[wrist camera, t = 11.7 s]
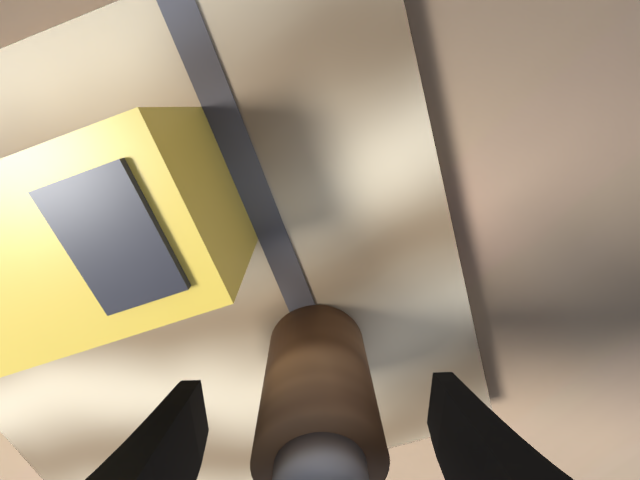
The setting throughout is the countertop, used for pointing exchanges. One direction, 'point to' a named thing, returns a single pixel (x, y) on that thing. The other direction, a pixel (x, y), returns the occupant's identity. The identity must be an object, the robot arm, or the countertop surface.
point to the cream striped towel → (255, 213)
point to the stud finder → (116, 234)
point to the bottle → (318, 403)
